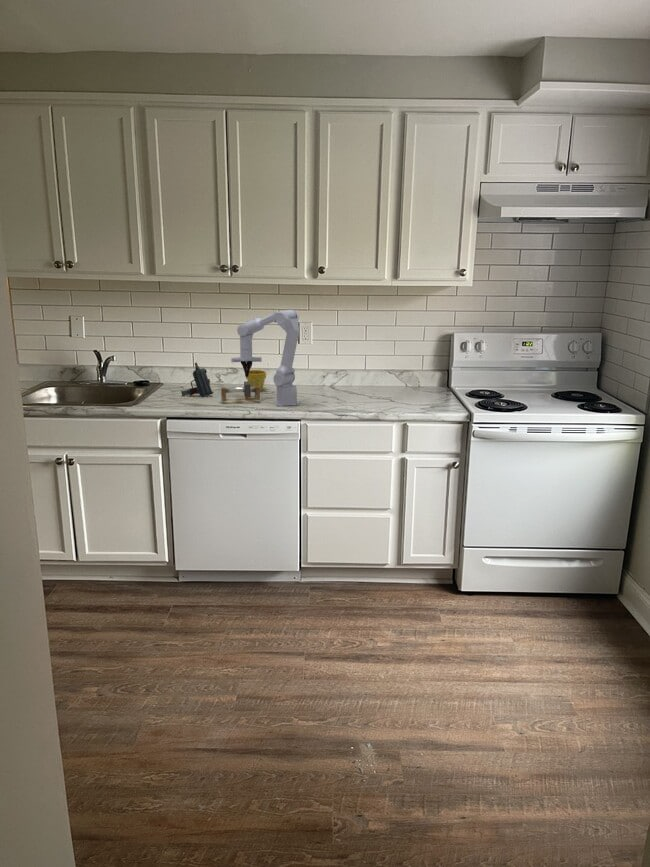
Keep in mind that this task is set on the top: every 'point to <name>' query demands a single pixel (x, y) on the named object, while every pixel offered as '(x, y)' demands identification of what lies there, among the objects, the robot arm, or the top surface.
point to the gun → (199, 383)
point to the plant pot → (256, 378)
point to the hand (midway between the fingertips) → (246, 376)
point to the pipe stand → (239, 400)
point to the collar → (247, 390)
